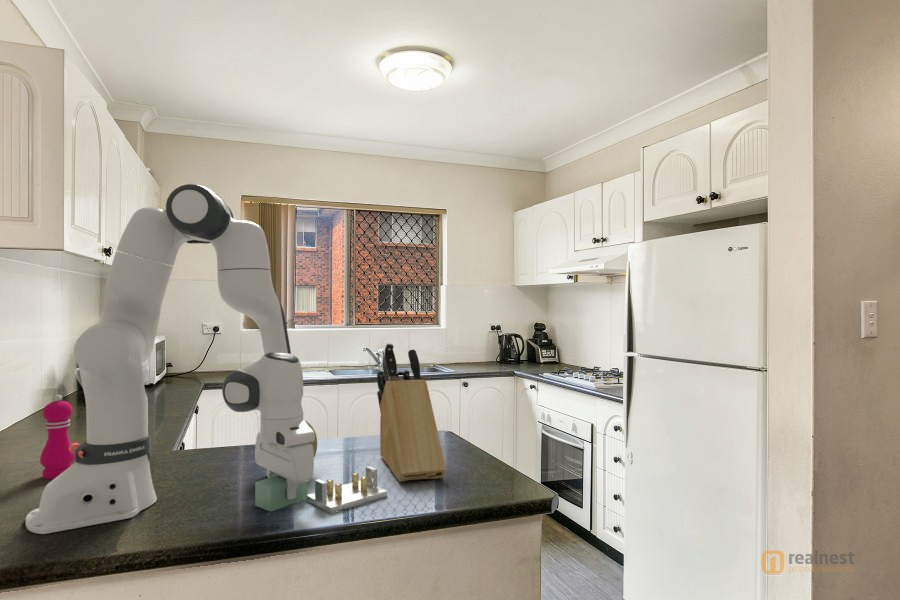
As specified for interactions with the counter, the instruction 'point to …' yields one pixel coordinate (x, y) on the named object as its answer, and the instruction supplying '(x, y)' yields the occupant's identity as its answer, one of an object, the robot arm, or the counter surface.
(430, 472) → the knife block
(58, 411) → the pepper mill
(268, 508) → the green box
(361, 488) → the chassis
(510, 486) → the counter surface
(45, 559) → the counter surface
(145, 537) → the counter surface
